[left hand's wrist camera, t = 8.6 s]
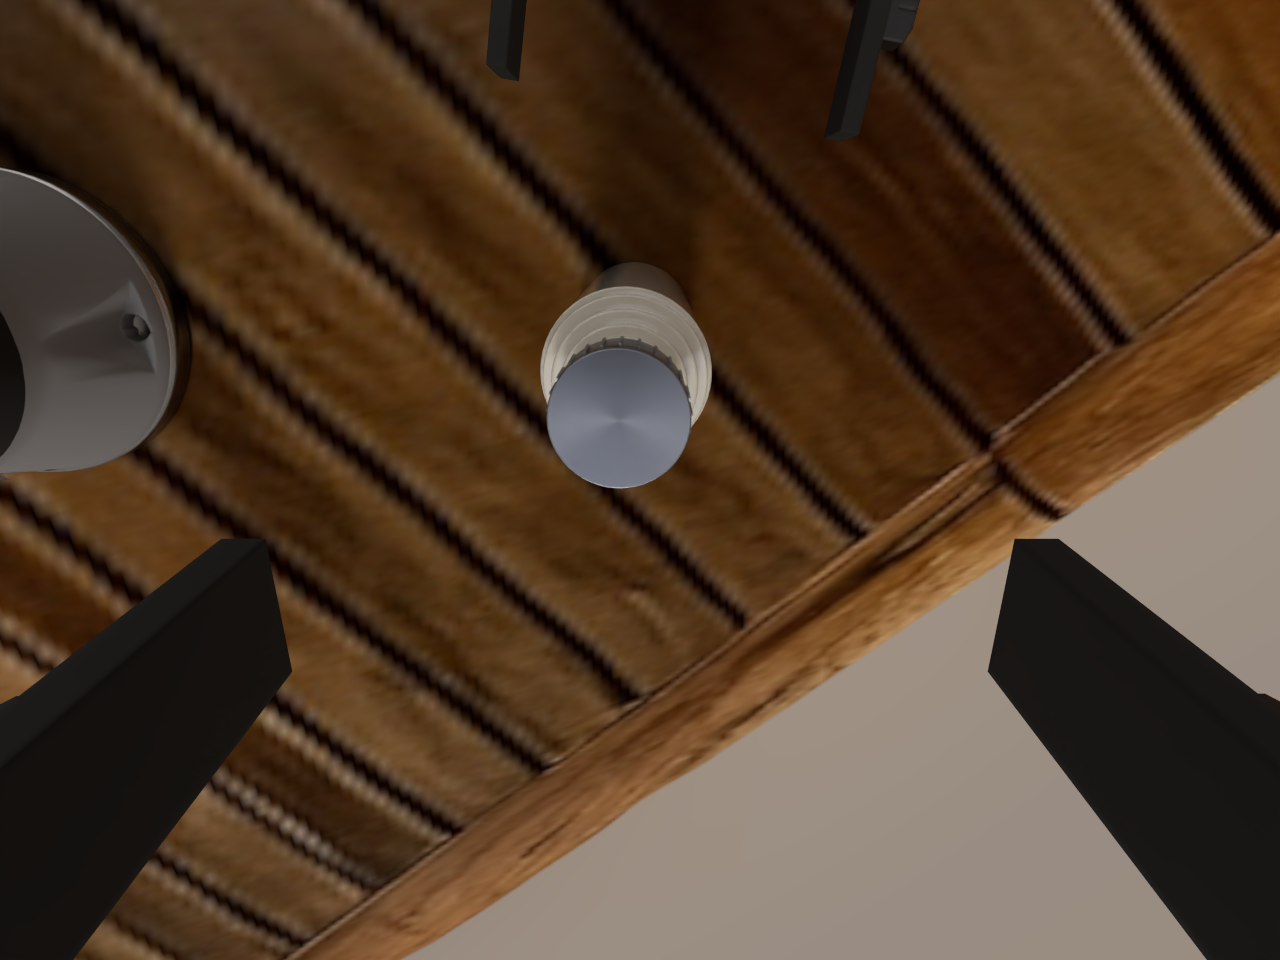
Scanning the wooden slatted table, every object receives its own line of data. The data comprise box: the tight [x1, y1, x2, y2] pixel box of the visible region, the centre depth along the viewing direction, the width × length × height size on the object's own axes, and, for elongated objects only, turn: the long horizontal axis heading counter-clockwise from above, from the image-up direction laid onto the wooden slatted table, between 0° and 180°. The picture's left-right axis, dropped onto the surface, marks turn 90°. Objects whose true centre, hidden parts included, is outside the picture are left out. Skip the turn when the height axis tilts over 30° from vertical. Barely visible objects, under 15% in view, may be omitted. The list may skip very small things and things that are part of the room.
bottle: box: [540, 262, 712, 427], centre depth 28 cm, size 6×6×20 cm
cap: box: [546, 336, 693, 488], centre depth 19 cm, size 4×4×2 cm
